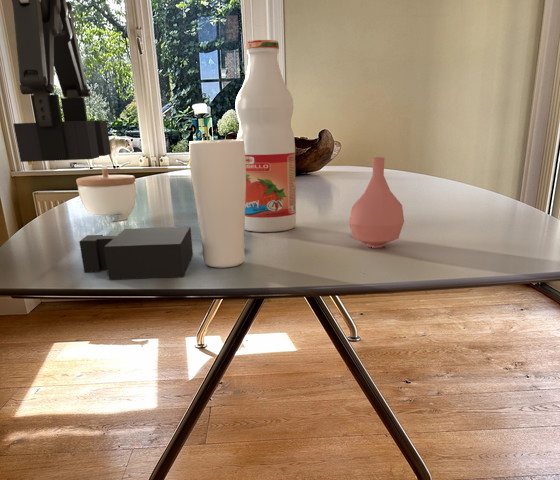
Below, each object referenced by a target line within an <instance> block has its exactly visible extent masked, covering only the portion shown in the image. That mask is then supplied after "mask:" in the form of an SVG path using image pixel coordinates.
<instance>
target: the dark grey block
mask: <svg viewBox="0 0 560 480" xmlns="http://www.w3.org/2000/svg"><path fill="white" fill-rule="evenodd" d="M12 125H13V129H14V135H15V140H16V145H17V151H18V155H19V159H20V160H19V161H20V163H26V162H31V163H32V162H53V161H57V162H59V161H80V160H81V161H82V160H83V161H84V160H95V159H98V158H100V157H105V156H109V155H111V154H112V151H111V150H112V149H111V144H110V135H109V128H108V122H107V119H106V120H104V119H103V120H102V119H101V120H88V121H69V122H64V121H63V127H64V134H65V140H66V146H67V152H68V158H67V159H42V155H41V149H40V144H39V138H38V133H37V127H36V122H20V123H19V122H18V123H13V124H12Z"/></svg>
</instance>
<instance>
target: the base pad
mask: <svg viewBox="0 0 560 480" xmlns="http://www.w3.org/2000/svg"><path fill="white" fill-rule="evenodd" d="M78 242H79V248H80V254H81V261H82V266H83V272H84V273H85V274H87V273H89V274H91V273H101V272H102V271H107V275H108V280H109V281H111V280H113V281H114V280H135V279H137V280H138V279H141V280H142V279H166V278H167V279H168V278H169V279H170V278H184V277H185V275H186V272H187V270H188V268H189V265H190V263H191V261H192V258H193V257H194V252H193V251H194V250H193V239H192V228H191V226H169V227H167V226H166V227H165V226H164V227H140V228H139V227H138V228H124V229H122V230H121V231H120V232H119V233H118V234H117V235H103V234H88V235H86V236H85V237H83V238H82V239H81V240H79V241H78Z"/></svg>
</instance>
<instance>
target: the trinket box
mask: <svg viewBox="0 0 560 480" xmlns="http://www.w3.org/2000/svg"><path fill="white" fill-rule="evenodd" d="M101 173H102V174H101V175H100V174H99V175H90V176H83V177H79V178H76V180H75V182H76V185H77V190H78V196H79V199H80V202H81V204H82V206H83V209H84V211H85V212H86V213H87V215H90V216H91V215H92V216H115V215H119V216H117V217H116V218H114V220H112V221H111V223H116V222H122V221H126V220H128V219H129V218H128V217H129V216H130V215H131V213H132V212H133V211H134V209H135V206H136V201H137V188H136V186H137V185H136V177H135V175H131V174H109V171H108V167H104V168H101Z"/></svg>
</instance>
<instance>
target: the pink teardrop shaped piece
mask: <svg viewBox="0 0 560 480" xmlns="http://www.w3.org/2000/svg"><path fill="white" fill-rule="evenodd" d="M384 174H385V157H384V156H380V157H379V156H378V157H372V176H371V178H370V180H369V182H368V184H367V186H366V188H365V191H364V192H362V193H361V195H360V196H359V197H358V199H357V200H356V201H355V202H354V203H353V204H352V206H351V210H350V215H349V220H348V224H349V228H350V232H351V235H352V238H353V239H354V240H355V241H359V242H361V243H363V244H366V245H367V248H371V247H372V248H373V249H379V248H384V247H385V245H386V244H388V243H391V242H393V241H395V240H398V239H399V238H400V235H401V232H402V229H403V226H404V223H405V218H404V217H405V216H404V208H403V204H402V203H401V202H400V201H399V199H398V198H397V197H396V196H395V194H394V193H393V192H392V190H391V188H390V186H389V184H388V181H387V180H386V178H385V175H384ZM372 248H371V249H372Z"/></svg>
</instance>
